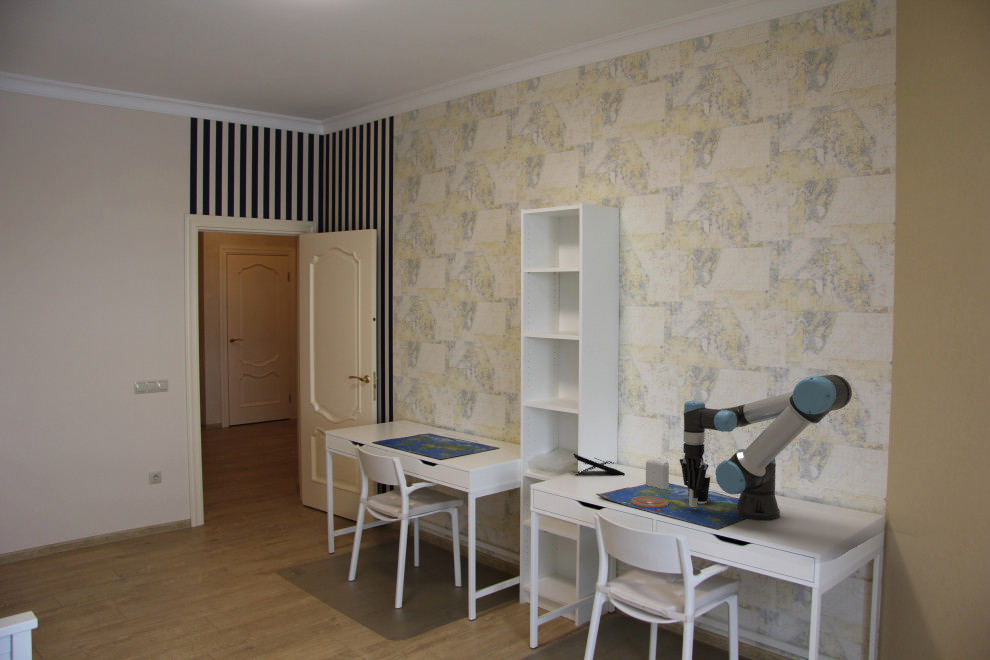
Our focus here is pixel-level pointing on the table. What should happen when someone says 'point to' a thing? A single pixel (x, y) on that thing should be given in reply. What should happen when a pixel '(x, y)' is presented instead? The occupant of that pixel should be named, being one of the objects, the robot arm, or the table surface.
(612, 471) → the black folding stand
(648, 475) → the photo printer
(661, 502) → the dish
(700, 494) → the dixie cup
